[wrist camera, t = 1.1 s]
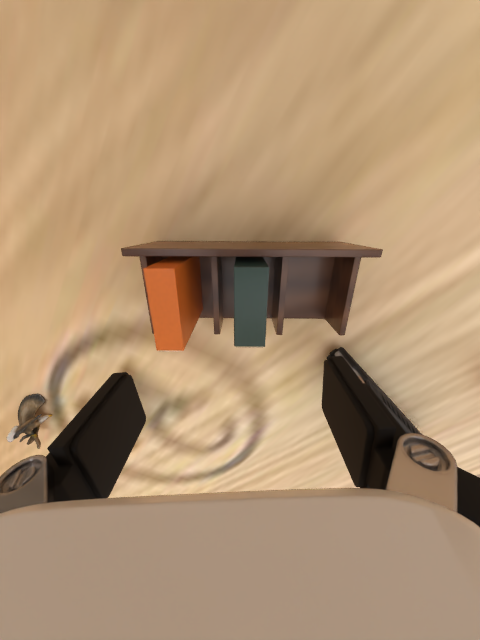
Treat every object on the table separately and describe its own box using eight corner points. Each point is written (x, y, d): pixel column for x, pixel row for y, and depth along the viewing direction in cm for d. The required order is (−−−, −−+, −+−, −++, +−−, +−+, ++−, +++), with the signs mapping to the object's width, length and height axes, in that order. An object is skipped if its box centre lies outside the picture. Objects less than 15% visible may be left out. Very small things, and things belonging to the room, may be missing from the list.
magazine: (460, 478, 40) (420, 440, 24) (443, 486, 41) (393, 454, 25) (390, 397, 54) (335, 338, 38) (378, 405, 55) (320, 350, 39)
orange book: (179, 252, 33) (142, 268, 21) (199, 252, 33) (174, 268, 21) (184, 310, 37) (156, 352, 25) (203, 310, 37) (183, 352, 25)
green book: (236, 252, 33) (233, 266, 22) (260, 252, 33) (269, 267, 22) (236, 310, 37) (234, 348, 25) (258, 310, 36) (264, 348, 25)
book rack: (157, 241, 33) (120, 248, 23) (340, 241, 33) (383, 249, 23) (167, 315, 38) (140, 348, 28) (327, 316, 38) (358, 350, 28)
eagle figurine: (62, 434, 48) (53, 410, 43) (19, 461, 43) (3, 437, 38) (46, 411, 51) (36, 386, 46) (3, 433, 45) (-13, 408, 40)
